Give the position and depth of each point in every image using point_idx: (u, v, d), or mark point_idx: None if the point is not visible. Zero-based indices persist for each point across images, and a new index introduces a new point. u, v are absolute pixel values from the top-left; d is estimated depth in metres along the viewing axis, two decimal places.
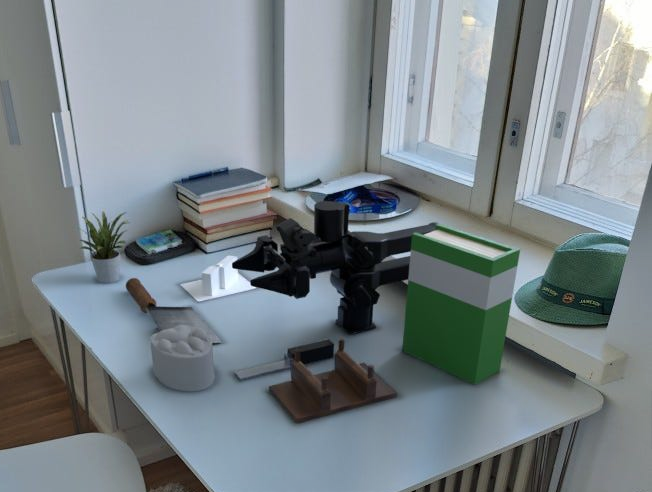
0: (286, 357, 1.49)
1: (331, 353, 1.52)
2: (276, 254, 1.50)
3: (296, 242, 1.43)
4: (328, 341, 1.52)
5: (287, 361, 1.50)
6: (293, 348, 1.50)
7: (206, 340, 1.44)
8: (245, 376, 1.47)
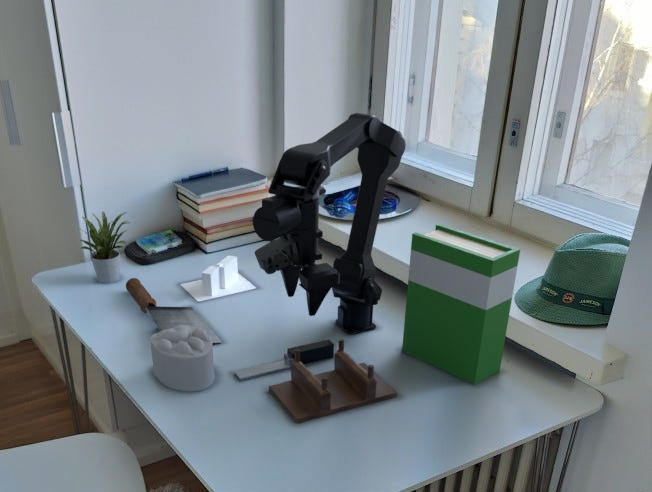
0: (286, 357, 1.49)
1: (331, 353, 1.52)
2: None
3: None
4: (328, 341, 1.52)
5: (287, 361, 1.50)
6: (293, 348, 1.50)
7: (206, 340, 1.44)
8: (245, 376, 1.47)
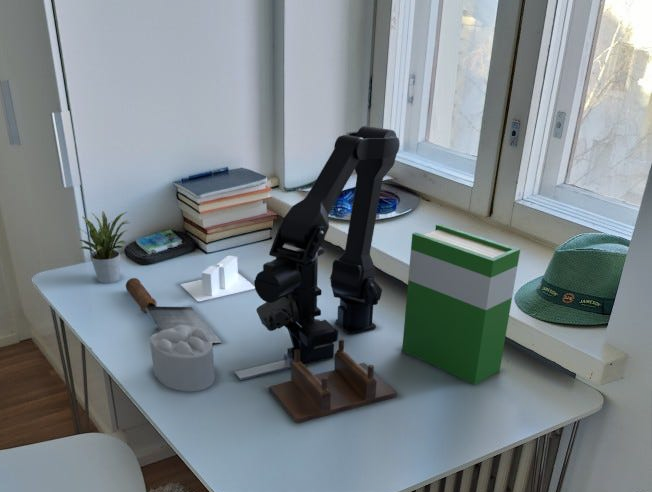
0: (286, 357, 1.49)
1: (331, 353, 1.52)
2: None
3: None
4: None
5: (287, 361, 1.50)
6: (293, 348, 1.50)
7: (206, 340, 1.44)
8: (245, 376, 1.47)
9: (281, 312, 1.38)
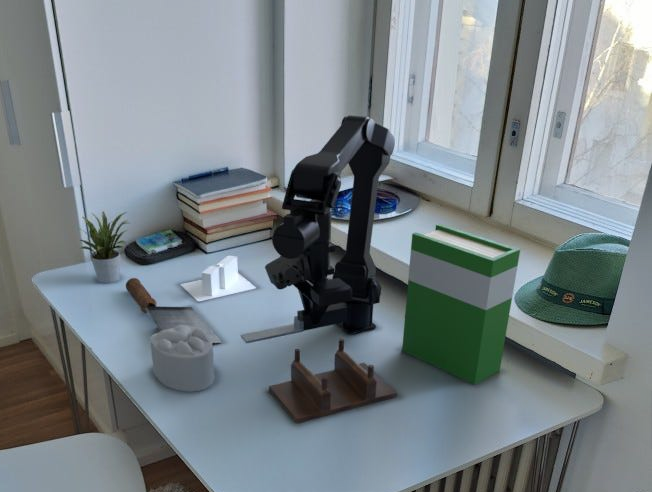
0: (296, 320, 1.40)
1: (344, 317, 1.42)
2: None
3: None
4: (341, 304, 1.42)
5: (297, 324, 1.40)
6: (304, 311, 1.40)
7: (206, 340, 1.44)
8: (252, 339, 1.37)
9: (291, 268, 1.29)
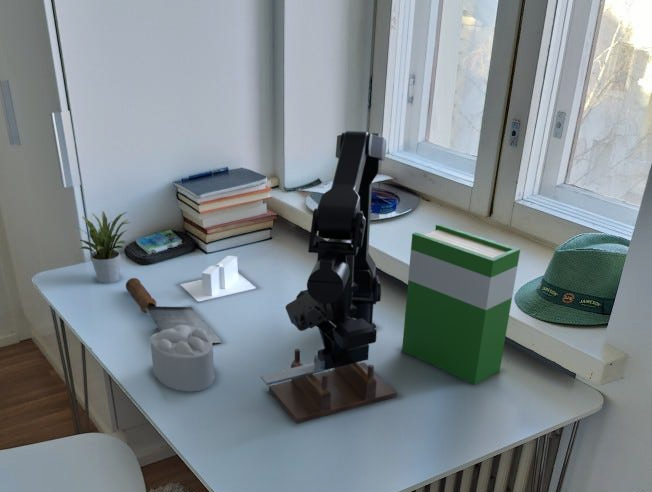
0: (317, 359, 1.36)
1: (365, 355, 1.38)
2: None
3: None
4: None
5: (318, 364, 1.36)
6: (324, 349, 1.36)
7: (206, 340, 1.44)
8: (272, 380, 1.33)
9: (314, 310, 1.25)
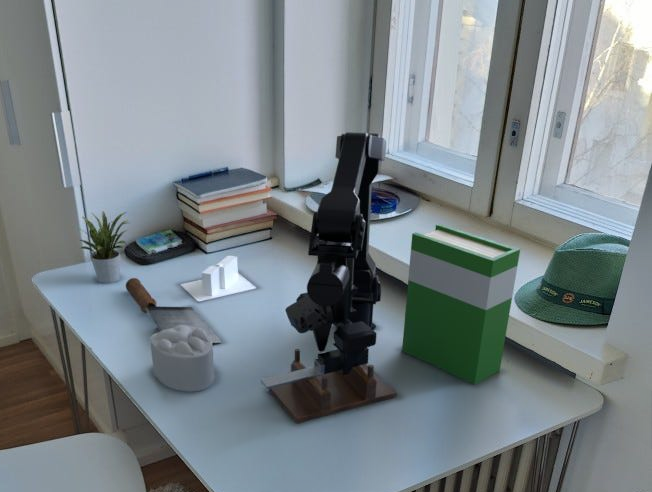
0: (317, 363, 1.36)
1: (365, 359, 1.39)
2: None
3: None
4: None
5: (318, 368, 1.37)
6: (324, 353, 1.37)
7: (206, 340, 1.44)
8: (272, 384, 1.34)
9: (314, 313, 1.25)
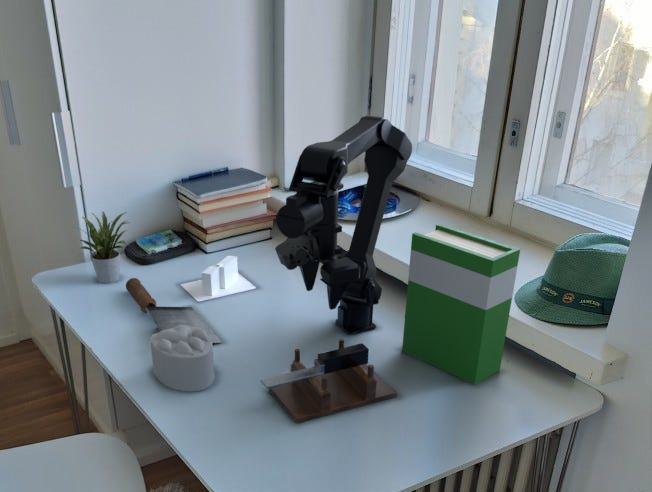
0: (317, 363, 1.36)
1: (365, 359, 1.39)
2: None
3: None
4: (362, 345, 1.39)
5: (318, 368, 1.37)
6: (324, 353, 1.37)
7: (206, 340, 1.44)
8: (272, 384, 1.34)
9: (302, 249, 1.35)
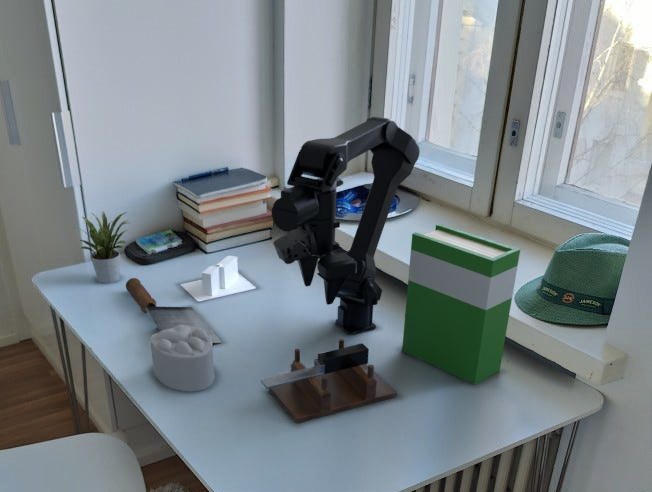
0: (317, 363, 1.36)
1: (365, 359, 1.39)
2: None
3: None
4: (362, 345, 1.39)
5: (318, 368, 1.37)
6: (324, 353, 1.37)
7: (206, 340, 1.44)
8: (272, 384, 1.34)
9: (299, 243, 1.36)
